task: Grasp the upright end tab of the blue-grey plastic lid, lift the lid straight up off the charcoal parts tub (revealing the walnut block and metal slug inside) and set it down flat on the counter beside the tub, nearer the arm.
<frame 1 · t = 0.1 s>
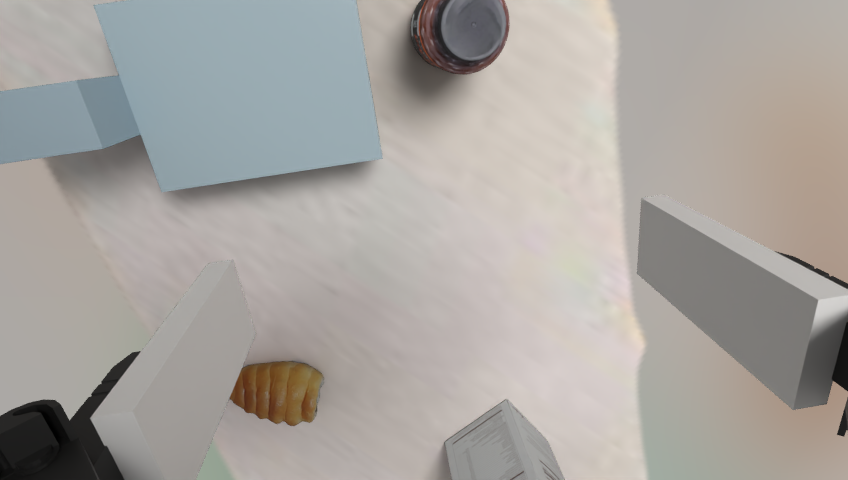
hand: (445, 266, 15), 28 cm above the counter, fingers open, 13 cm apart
supplement box: (496, 439, 56), on the counter
supplement bottle: (446, 29, 39), on the counter
pastry: (285, 383, 51), on the counter
lid: (253, 87, 34), point 5 cm above the counter, touching tub
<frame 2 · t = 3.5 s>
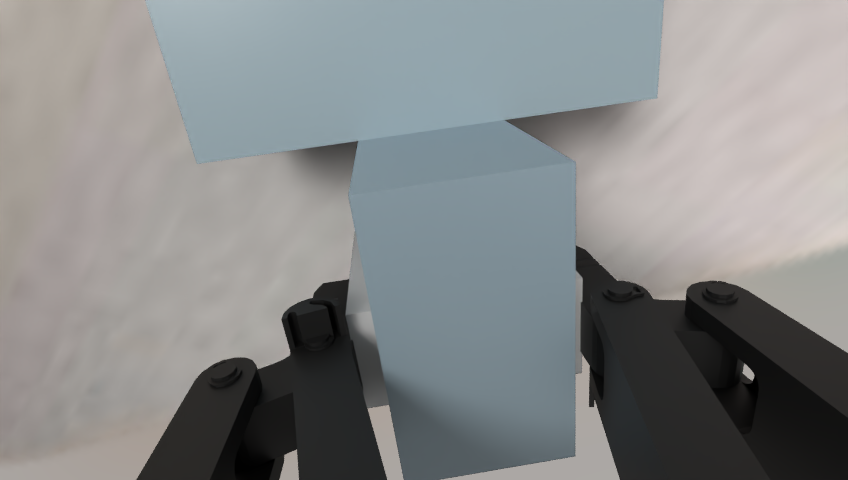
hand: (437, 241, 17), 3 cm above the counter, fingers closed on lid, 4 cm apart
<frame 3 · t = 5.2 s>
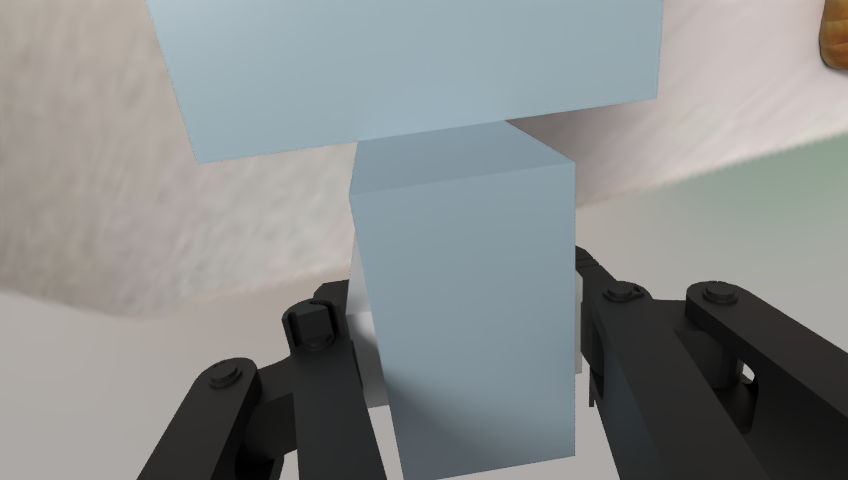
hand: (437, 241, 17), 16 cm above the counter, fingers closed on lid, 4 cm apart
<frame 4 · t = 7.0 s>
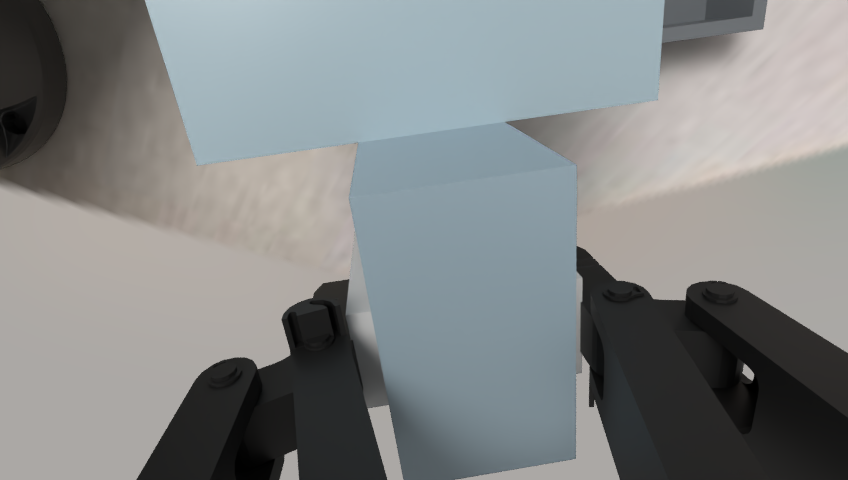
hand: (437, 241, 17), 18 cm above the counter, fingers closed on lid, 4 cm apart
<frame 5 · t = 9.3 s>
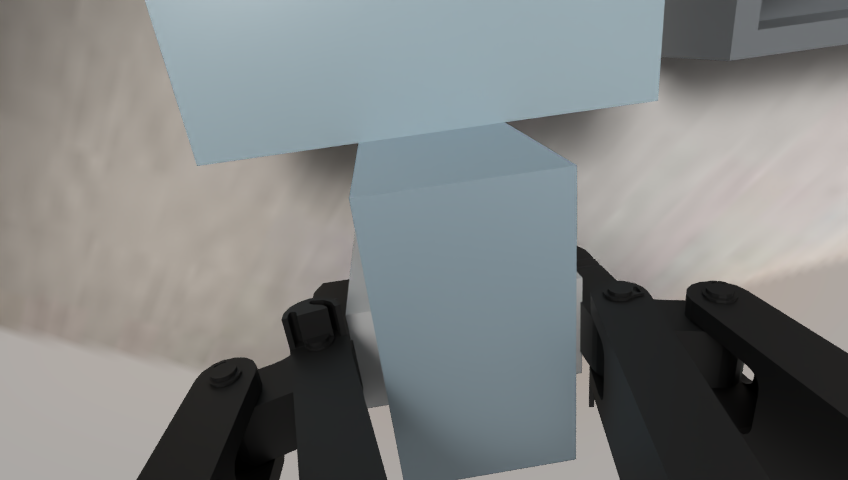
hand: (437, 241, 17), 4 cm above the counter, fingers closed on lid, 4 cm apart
when the fingers open (0 cm above the counter, at t = 10.9 s): lid drops 2 cm, on the counter.
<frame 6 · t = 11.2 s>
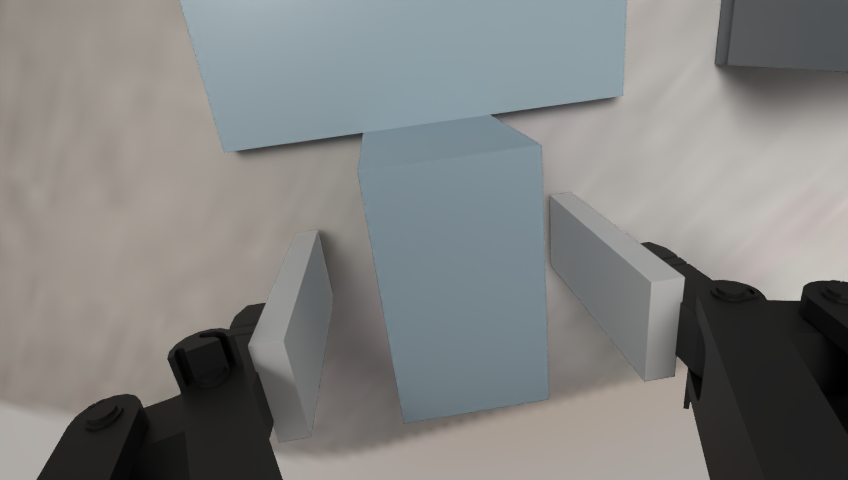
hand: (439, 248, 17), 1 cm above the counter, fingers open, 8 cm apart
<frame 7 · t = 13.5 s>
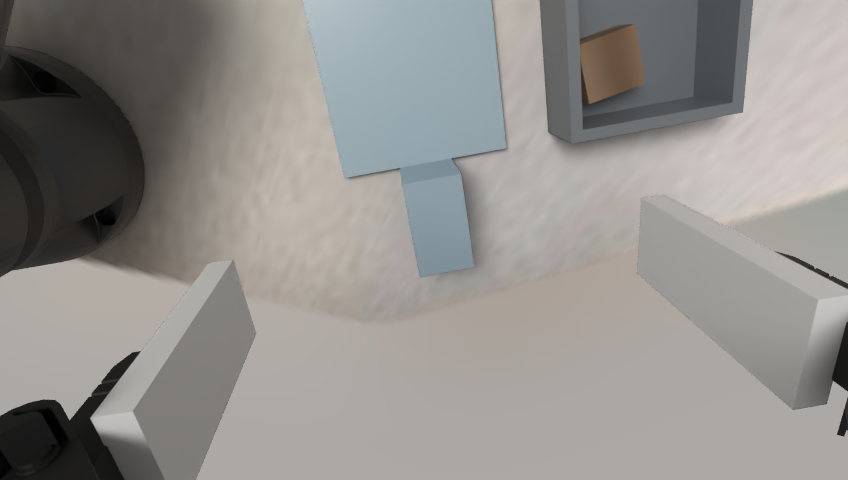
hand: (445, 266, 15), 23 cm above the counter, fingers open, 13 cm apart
tub: (622, 6, 34), on the counter
walnut block: (593, 63, 35), point 1 cm above the counter, touching tub
lid: (405, 47, 34), on the counter
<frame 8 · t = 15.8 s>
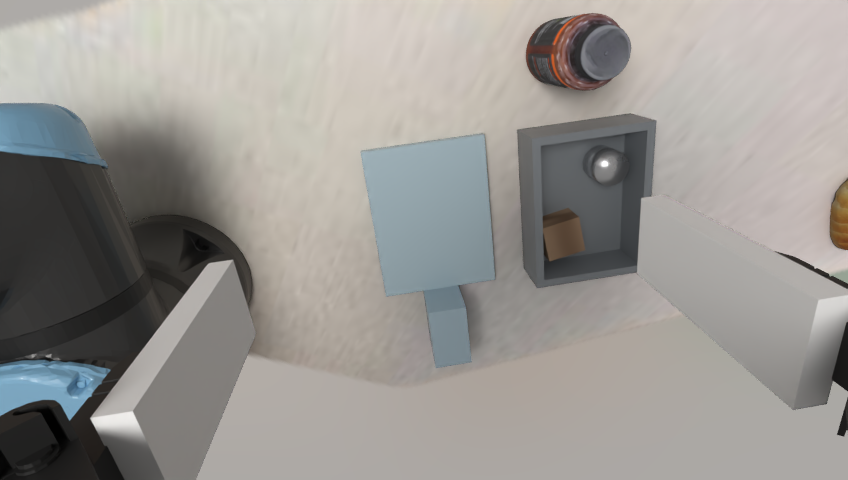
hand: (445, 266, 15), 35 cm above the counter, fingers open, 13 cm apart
tub: (573, 194, 52), on the counter
metal slug: (599, 161, 50), point 1 cm above the counter, touching tub
supplement bottle: (553, 52, 47), on the counter
walnut block: (554, 229, 53), point 1 cm above the counter, touching tub
lid: (431, 217, 52), on the counter
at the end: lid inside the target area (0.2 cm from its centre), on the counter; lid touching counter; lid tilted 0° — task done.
